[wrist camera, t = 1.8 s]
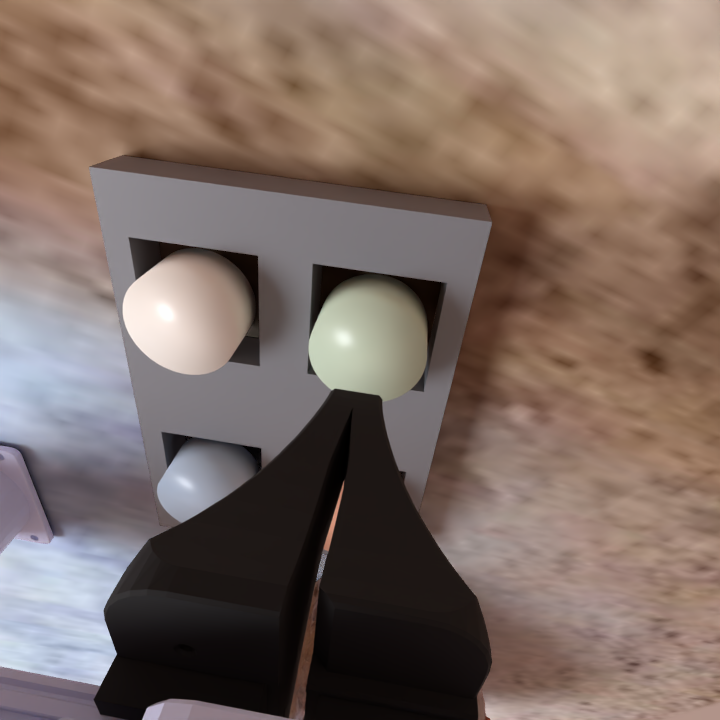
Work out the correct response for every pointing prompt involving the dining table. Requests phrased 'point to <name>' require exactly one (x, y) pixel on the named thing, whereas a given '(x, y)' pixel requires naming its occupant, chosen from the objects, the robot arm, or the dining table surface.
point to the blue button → (203, 476)
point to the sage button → (370, 337)
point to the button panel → (284, 298)
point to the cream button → (190, 311)
